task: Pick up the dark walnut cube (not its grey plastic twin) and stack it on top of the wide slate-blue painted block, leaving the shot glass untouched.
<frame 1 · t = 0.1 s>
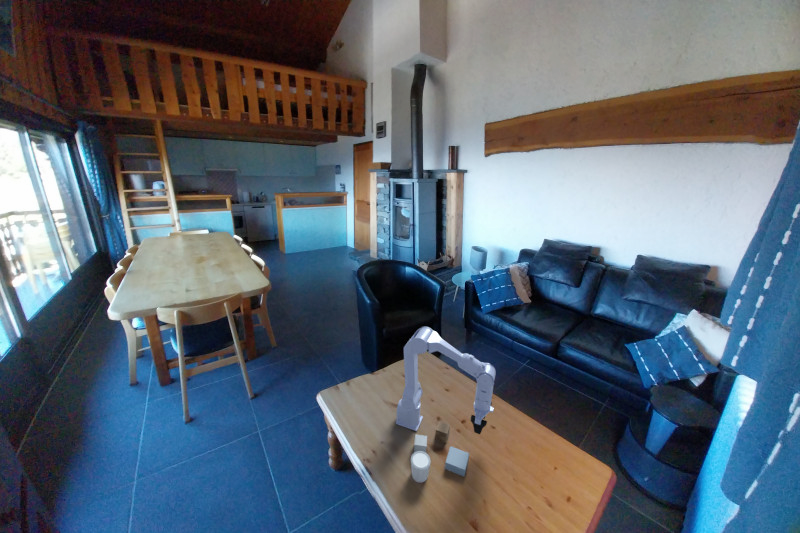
hand: (479, 424, 113), 10 cm above the table, fingers open, 7 cm apart
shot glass: (419, 474, 105), on the table
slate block: (456, 464, 109), on the table
walnut cube: (442, 436, 120), on the table
grey cube: (420, 450, 114), on the table
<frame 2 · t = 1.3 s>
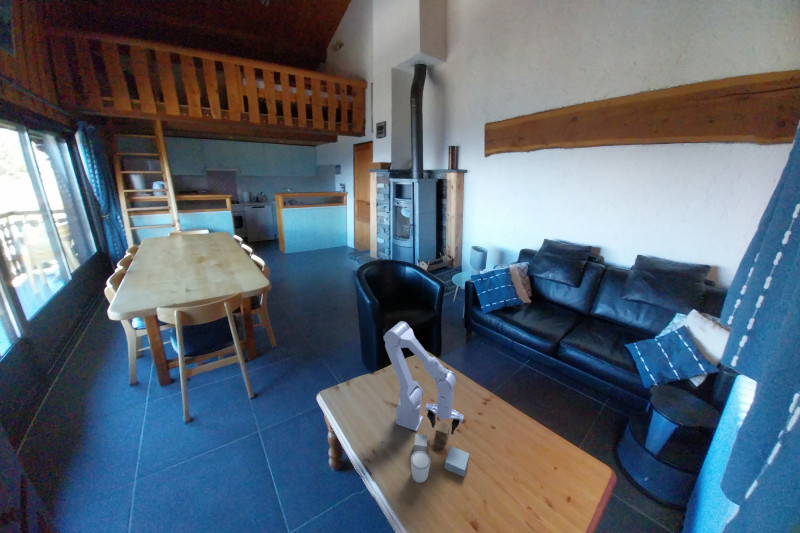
hand: (442, 429, 118), 4 cm above the table, fingers open, 7 cm apart
nothing on the table moved.
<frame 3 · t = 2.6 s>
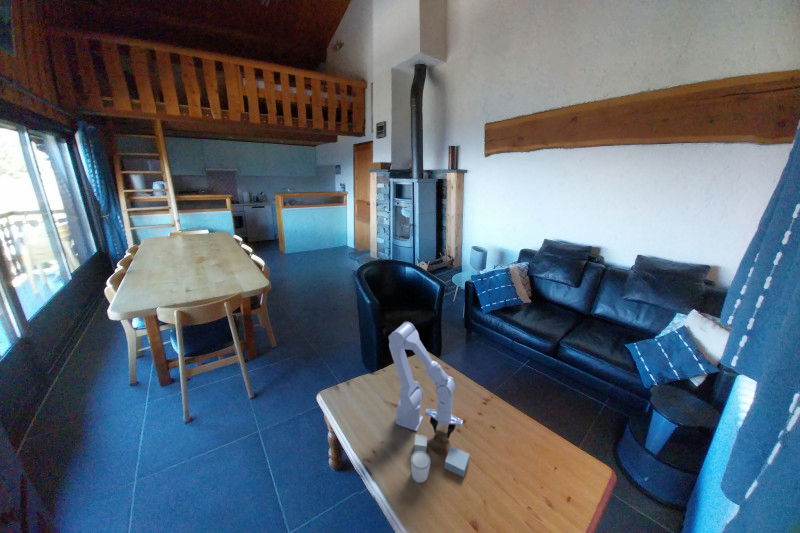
hand: (442, 434, 119), 1 cm above the table, fingers closed on walnut cube, 4 cm apart
walnut cube: (442, 436, 120), on the table, touching gripper
everything else where it was.
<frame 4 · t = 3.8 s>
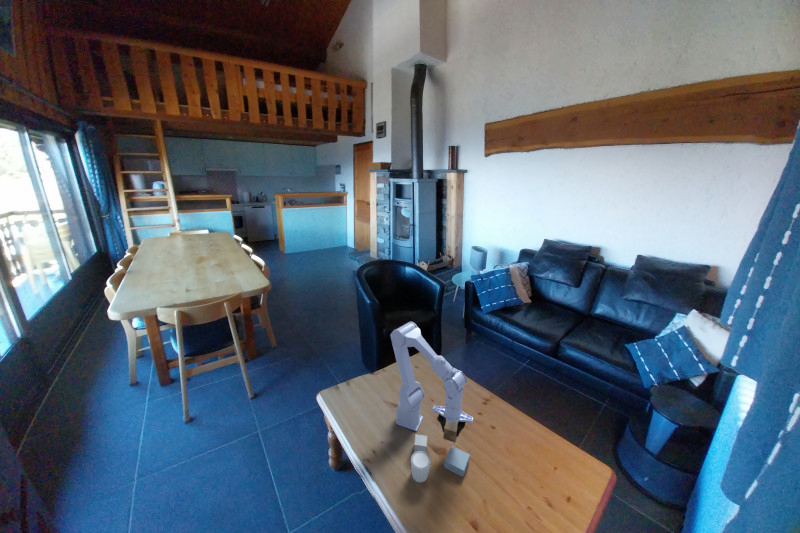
hand: (450, 432, 112), 9 cm above the table, fingers closed on walnut cube, 4 cm apart
walnut cube: (450, 435, 112), point 7 cm above the table, touching gripper
everything else where it was.
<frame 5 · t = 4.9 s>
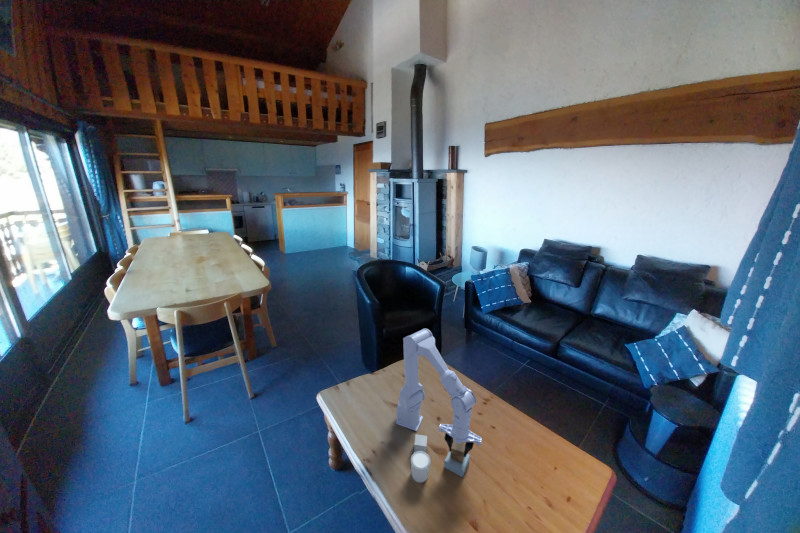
hand: (458, 451, 107), 6 cm above the table, fingers closed on walnut cube, 4 cm apart
walnut cube: (457, 455, 108), point 4 cm above the table, touching gripper
everything else where it was.
when the fingers open (6 cm above the table, at t = 5.4 s): walnut cube stays where it is, resting on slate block.
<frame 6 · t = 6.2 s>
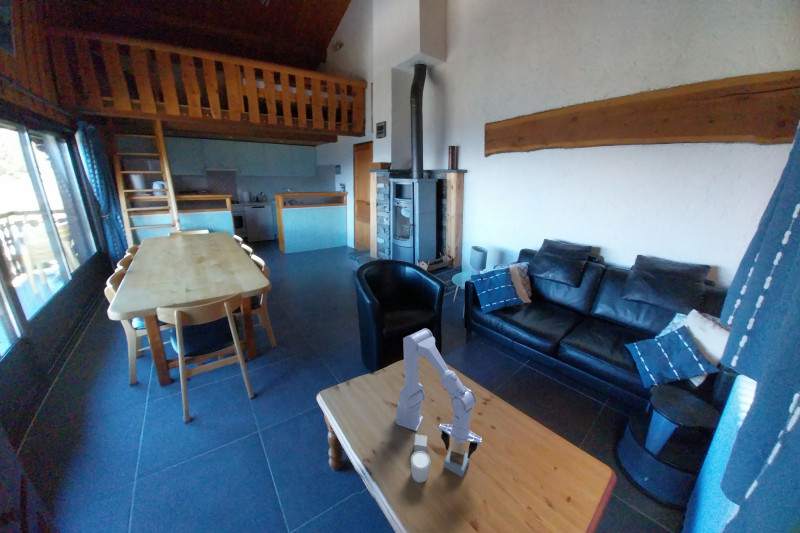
hand: (458, 451, 107), 6 cm above the table, fingers open, 7 cm apart
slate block: (456, 464, 109), on the table, touching walnut cube
walnut cube: (457, 457, 108), point 3 cm above the table, touching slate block
everything else where it was.
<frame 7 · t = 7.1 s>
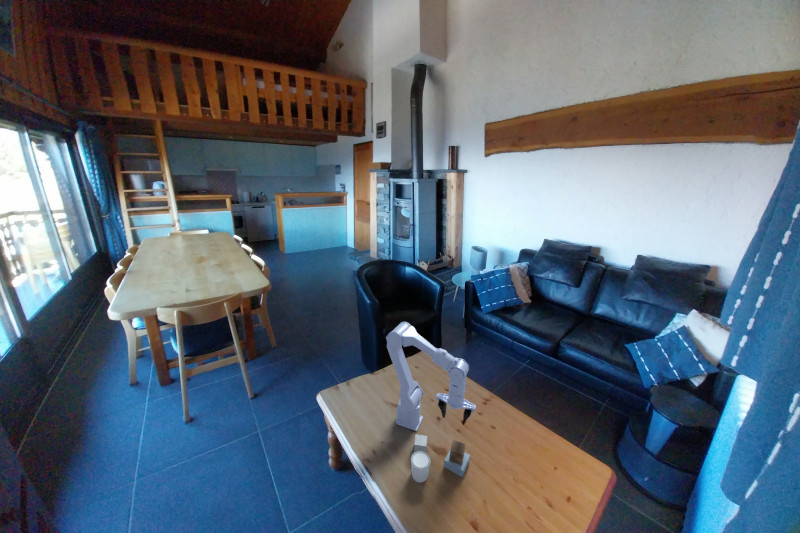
hand: (453, 419, 115), 10 cm above the table, fingers open, 7 cm apart
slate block: (456, 464, 109), on the table
walnut cube: (456, 457, 108), point 3 cm above the table
everything else where it was.
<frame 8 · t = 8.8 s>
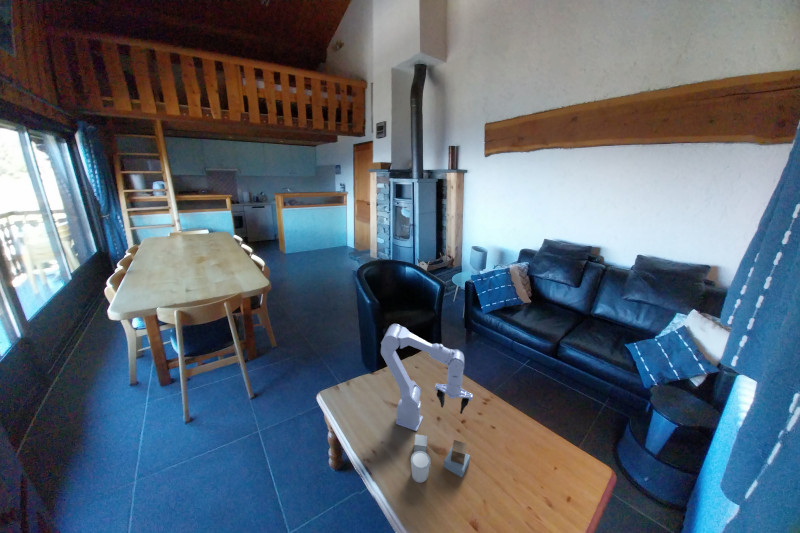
hand: (451, 408, 120), 10 cm above the table, fingers open, 7 cm apart
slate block: (456, 465, 109), on the table, touching walnut cube
walnut cube: (458, 457, 108), point 3 cm above the table, touching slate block
everything else where it was.
at the end: walnut cube 0.4 cm off-centre on the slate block, point 3.5 cm above the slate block's base; walnut cube tilted 0°; the gripper is holding nothing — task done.
